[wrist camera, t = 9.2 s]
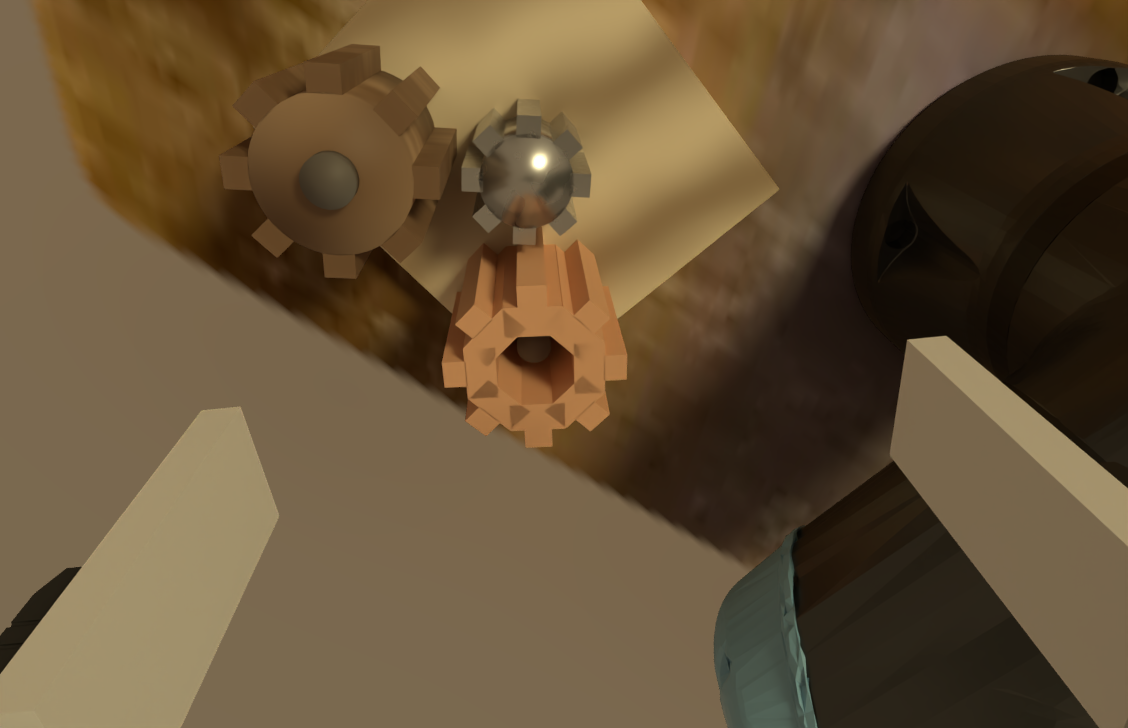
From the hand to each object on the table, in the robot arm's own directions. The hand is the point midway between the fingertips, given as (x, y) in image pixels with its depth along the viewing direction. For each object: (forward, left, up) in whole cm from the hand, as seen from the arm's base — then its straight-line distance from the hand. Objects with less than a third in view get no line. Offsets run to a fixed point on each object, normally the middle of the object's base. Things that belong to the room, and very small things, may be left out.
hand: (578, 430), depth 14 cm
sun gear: (+2, 0, -19) cm, 19 cm away
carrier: (+2, 0, -21) cm, 21 cm away
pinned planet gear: (+7, +4, -19) cm, 21 cm away
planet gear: (-3, +4, -19) cm, 20 cm away
